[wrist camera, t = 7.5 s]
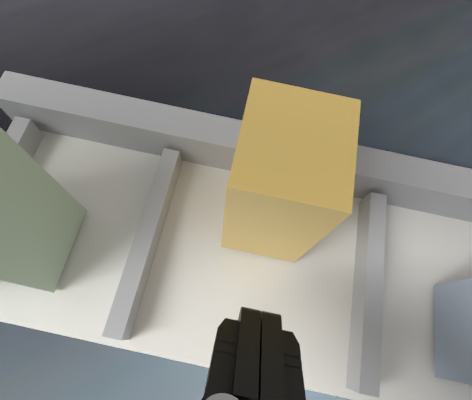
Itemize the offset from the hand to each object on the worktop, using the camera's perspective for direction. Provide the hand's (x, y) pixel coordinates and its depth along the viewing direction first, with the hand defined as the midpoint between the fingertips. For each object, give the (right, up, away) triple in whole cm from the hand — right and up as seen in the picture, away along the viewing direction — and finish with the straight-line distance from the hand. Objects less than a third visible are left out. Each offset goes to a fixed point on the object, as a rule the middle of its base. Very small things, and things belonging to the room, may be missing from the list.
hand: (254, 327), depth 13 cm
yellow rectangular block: (+1, +4, +9) cm, 9 cm away
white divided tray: (+1, +1, +9) cm, 9 cm away
